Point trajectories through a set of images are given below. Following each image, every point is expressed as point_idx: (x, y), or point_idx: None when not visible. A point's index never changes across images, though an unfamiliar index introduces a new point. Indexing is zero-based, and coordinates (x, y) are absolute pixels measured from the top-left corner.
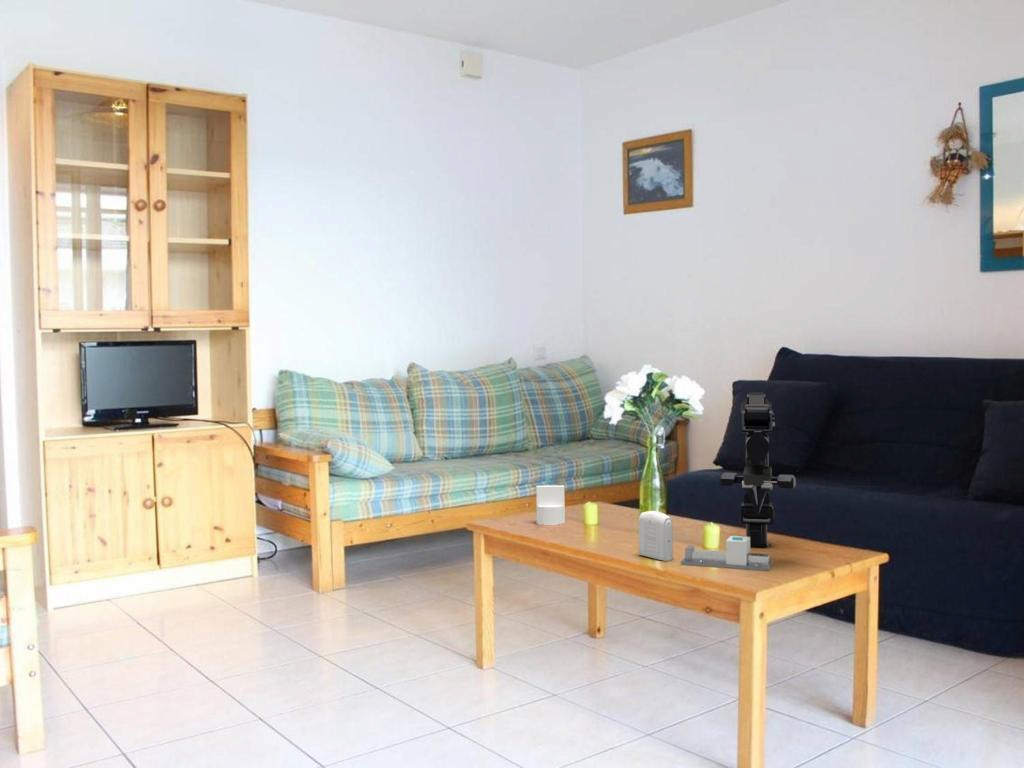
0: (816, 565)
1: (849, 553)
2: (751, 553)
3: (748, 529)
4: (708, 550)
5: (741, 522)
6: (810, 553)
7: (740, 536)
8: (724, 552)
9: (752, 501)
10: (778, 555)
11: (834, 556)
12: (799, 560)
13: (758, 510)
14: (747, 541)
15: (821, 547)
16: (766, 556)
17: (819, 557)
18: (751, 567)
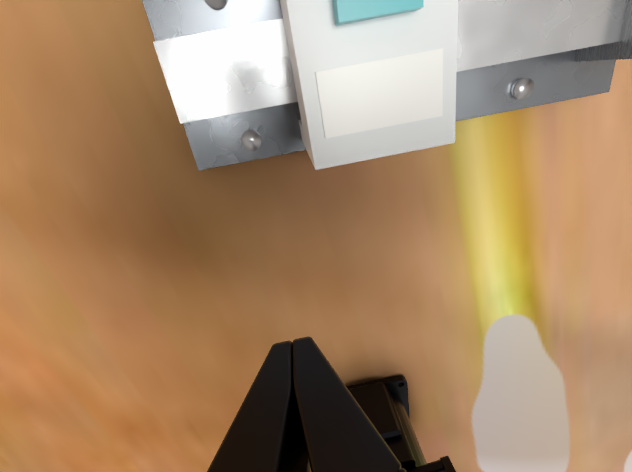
0: (21, 238)
1: (52, 450)
2: (280, 92)
3: (410, 443)
4: (533, 50)
5: (450, 461)
6: (162, 396)
7: (382, 145)
8: None
9: (381, 468)
10: (248, 321)
11: (65, 398)
12: (137, 287)
13: (272, 367)
14: (286, 6)
15: (174, 469)
16: (164, 48)
17: (100, 363)
18: None
